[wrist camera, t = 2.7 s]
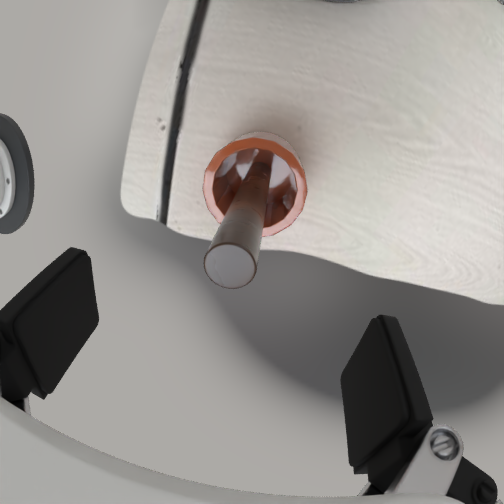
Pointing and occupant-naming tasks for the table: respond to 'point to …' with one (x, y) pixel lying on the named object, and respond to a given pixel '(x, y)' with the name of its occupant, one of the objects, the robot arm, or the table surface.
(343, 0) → the bowl
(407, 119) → the table surface
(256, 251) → the stick
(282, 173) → the holder
